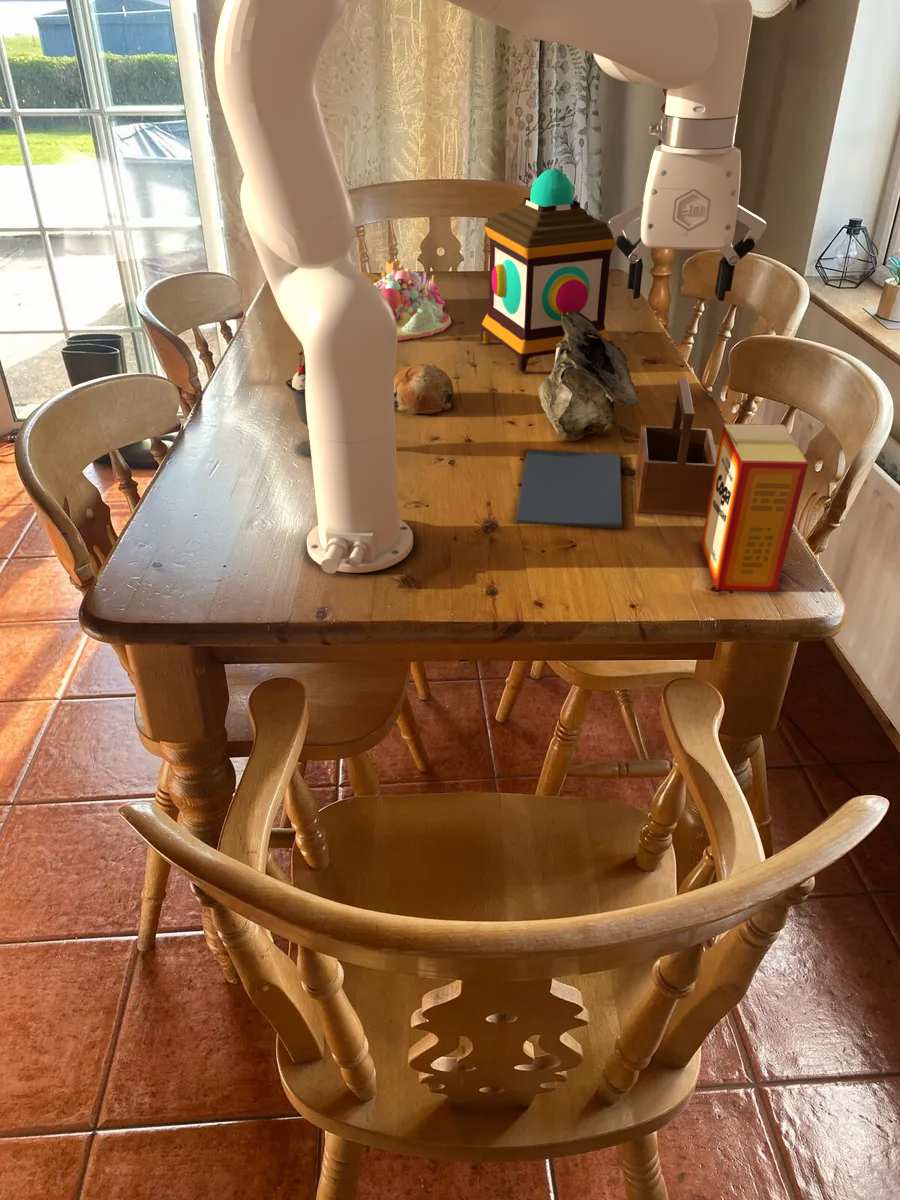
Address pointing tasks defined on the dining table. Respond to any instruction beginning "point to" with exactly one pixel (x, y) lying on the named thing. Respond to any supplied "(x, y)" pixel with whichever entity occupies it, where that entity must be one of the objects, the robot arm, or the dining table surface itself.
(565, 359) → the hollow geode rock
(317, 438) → the robot arm
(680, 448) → the basket
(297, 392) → the sundae
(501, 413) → the dining table surface
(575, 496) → the placemat
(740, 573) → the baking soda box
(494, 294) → the decorative lantern
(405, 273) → the candy landscape model
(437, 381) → the bread roll
